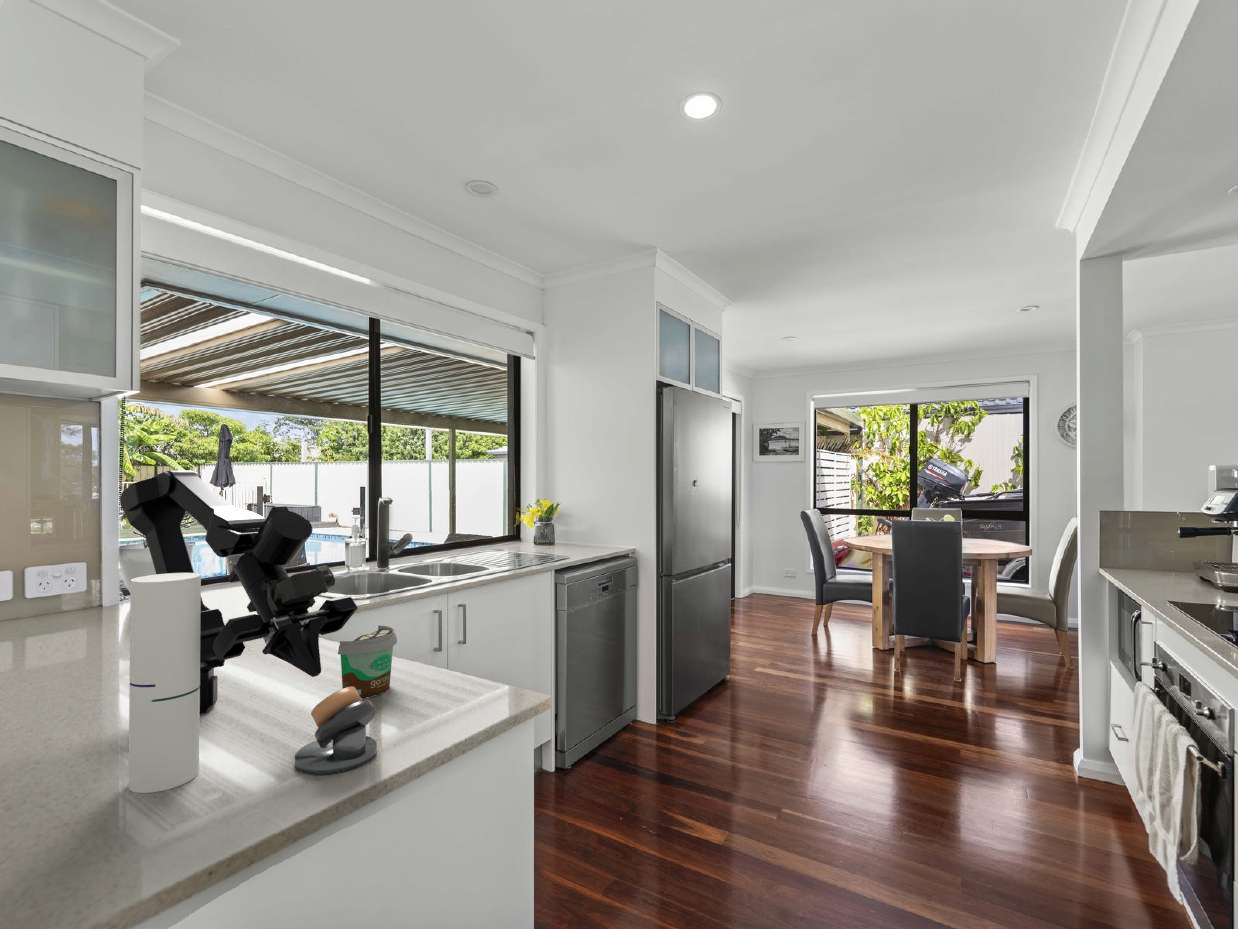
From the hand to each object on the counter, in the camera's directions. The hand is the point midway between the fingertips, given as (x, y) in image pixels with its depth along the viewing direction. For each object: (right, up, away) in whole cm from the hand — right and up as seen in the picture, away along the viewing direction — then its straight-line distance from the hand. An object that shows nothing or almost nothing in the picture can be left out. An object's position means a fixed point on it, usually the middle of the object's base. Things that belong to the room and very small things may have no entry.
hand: (317, 674), depth 87 cm
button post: (+4, -10, -2) cm, 11 cm away
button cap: (+4, -7, -2) cm, 8 cm away
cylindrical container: (-15, -10, -8) cm, 20 cm away
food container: (-1, -11, +24) cm, 26 cm away
